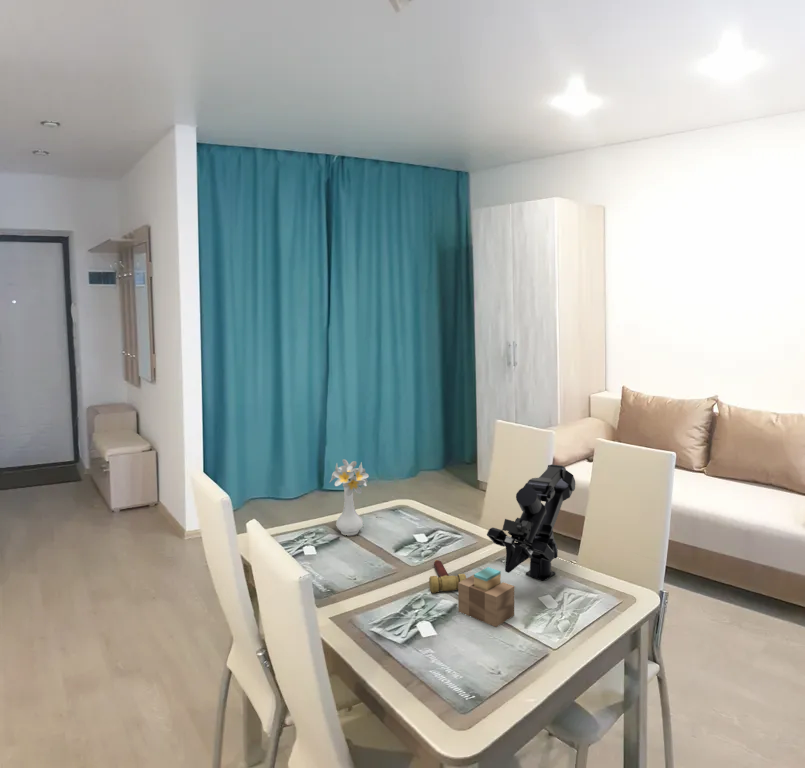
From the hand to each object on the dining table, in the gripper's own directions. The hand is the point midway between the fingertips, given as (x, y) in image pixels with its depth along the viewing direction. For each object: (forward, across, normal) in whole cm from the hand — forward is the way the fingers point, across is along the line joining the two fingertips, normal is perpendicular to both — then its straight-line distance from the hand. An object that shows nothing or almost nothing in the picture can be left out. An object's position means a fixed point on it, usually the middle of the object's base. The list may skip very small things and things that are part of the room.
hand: (506, 571), depth 179 cm
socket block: (+12, 0, -1) cm, 13 cm away
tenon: (+12, 0, -1) cm, 12 cm away
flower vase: (+3, -69, +10) cm, 70 cm away
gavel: (+7, -22, +6) cm, 24 cm away
